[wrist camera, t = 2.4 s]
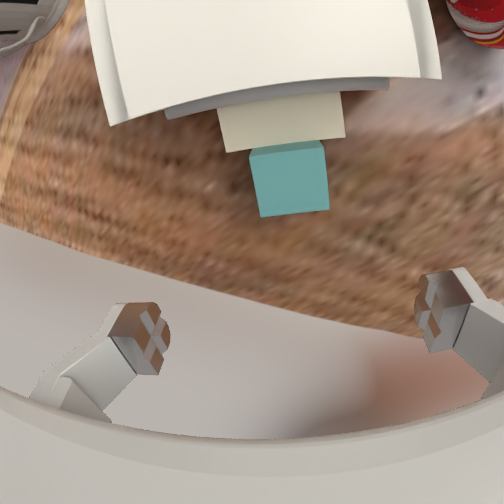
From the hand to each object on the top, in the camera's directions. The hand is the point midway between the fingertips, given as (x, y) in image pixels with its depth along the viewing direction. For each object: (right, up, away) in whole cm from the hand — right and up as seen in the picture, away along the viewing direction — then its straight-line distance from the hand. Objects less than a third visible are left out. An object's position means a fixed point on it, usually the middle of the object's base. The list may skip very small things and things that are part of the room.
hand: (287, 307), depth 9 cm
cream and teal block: (0, +15, +8) cm, 17 cm away
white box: (-1, +19, +6) cm, 20 cm away
